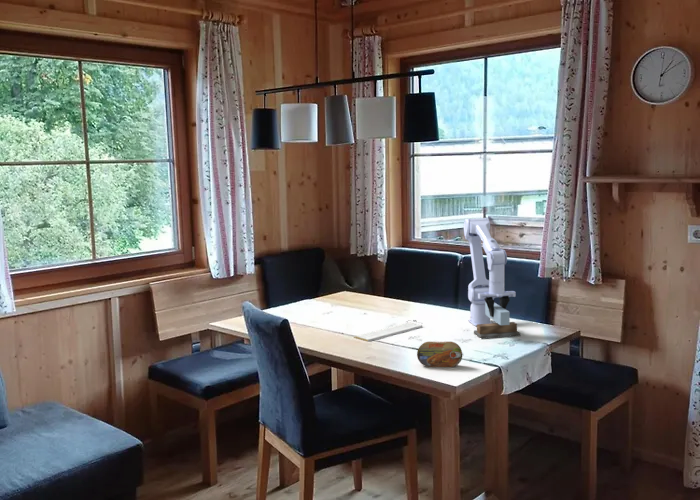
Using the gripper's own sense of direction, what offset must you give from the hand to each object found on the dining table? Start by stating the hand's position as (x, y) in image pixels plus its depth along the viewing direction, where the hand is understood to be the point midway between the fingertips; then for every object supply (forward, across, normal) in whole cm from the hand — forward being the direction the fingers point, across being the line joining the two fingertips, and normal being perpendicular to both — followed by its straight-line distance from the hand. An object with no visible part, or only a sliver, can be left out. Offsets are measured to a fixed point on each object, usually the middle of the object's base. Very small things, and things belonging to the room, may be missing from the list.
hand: (496, 315), depth 263 cm
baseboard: (+8, -40, +15) cm, 44 cm away
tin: (+8, -32, -32) cm, 46 cm away
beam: (+2, 0, 0) cm, 2 cm away
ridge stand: (+8, 0, 0) cm, 8 cm away
